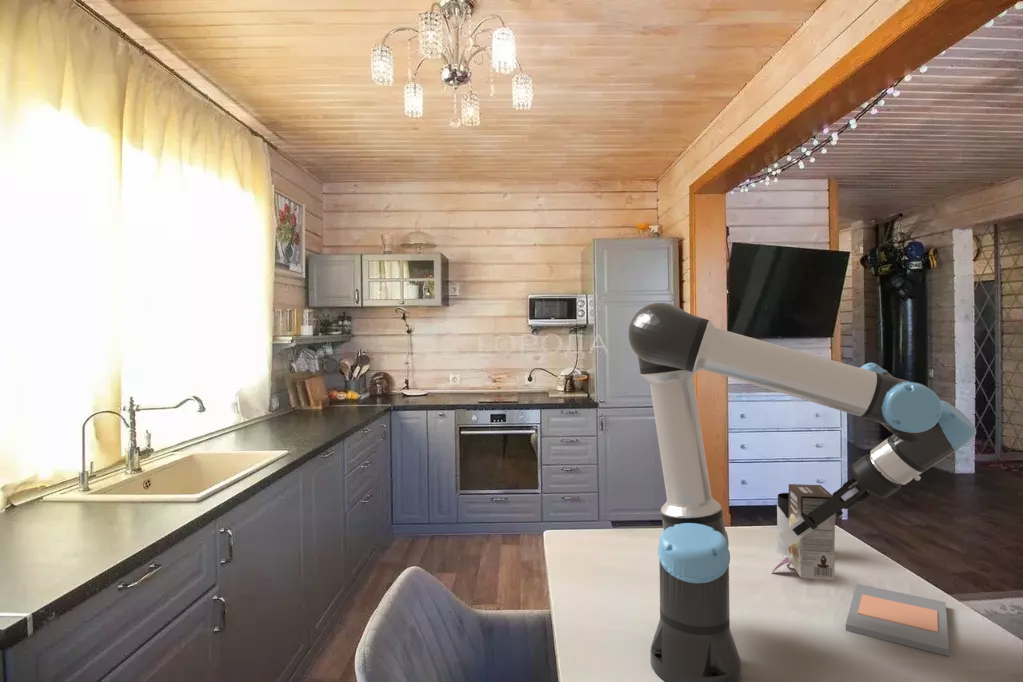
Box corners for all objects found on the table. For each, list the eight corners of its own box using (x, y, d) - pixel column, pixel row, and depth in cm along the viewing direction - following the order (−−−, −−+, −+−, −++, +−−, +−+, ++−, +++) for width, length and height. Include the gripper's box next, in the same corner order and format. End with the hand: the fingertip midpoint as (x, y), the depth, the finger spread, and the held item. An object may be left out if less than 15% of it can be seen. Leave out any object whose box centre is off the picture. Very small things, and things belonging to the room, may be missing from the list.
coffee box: (787, 560, 118) (787, 482, 118) (820, 562, 116) (820, 484, 116) (800, 578, 109) (800, 495, 108) (836, 581, 107) (836, 496, 107)
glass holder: (774, 545, 156) (773, 491, 155) (832, 551, 151) (831, 495, 151) (777, 557, 147) (776, 499, 147) (839, 563, 143) (838, 504, 142)
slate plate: (949, 656, 101) (948, 648, 101) (845, 630, 111) (845, 623, 111) (945, 607, 119) (945, 601, 119) (856, 588, 128) (856, 582, 128)
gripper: (885, 499, 93) (787, 566, 105) (917, 475, 109) (829, 535, 121) (849, 462, 97) (758, 530, 108) (885, 444, 113) (802, 505, 124)
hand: (795, 533), depth 114 cm, fingers closed on coffee box, 11 cm apart
